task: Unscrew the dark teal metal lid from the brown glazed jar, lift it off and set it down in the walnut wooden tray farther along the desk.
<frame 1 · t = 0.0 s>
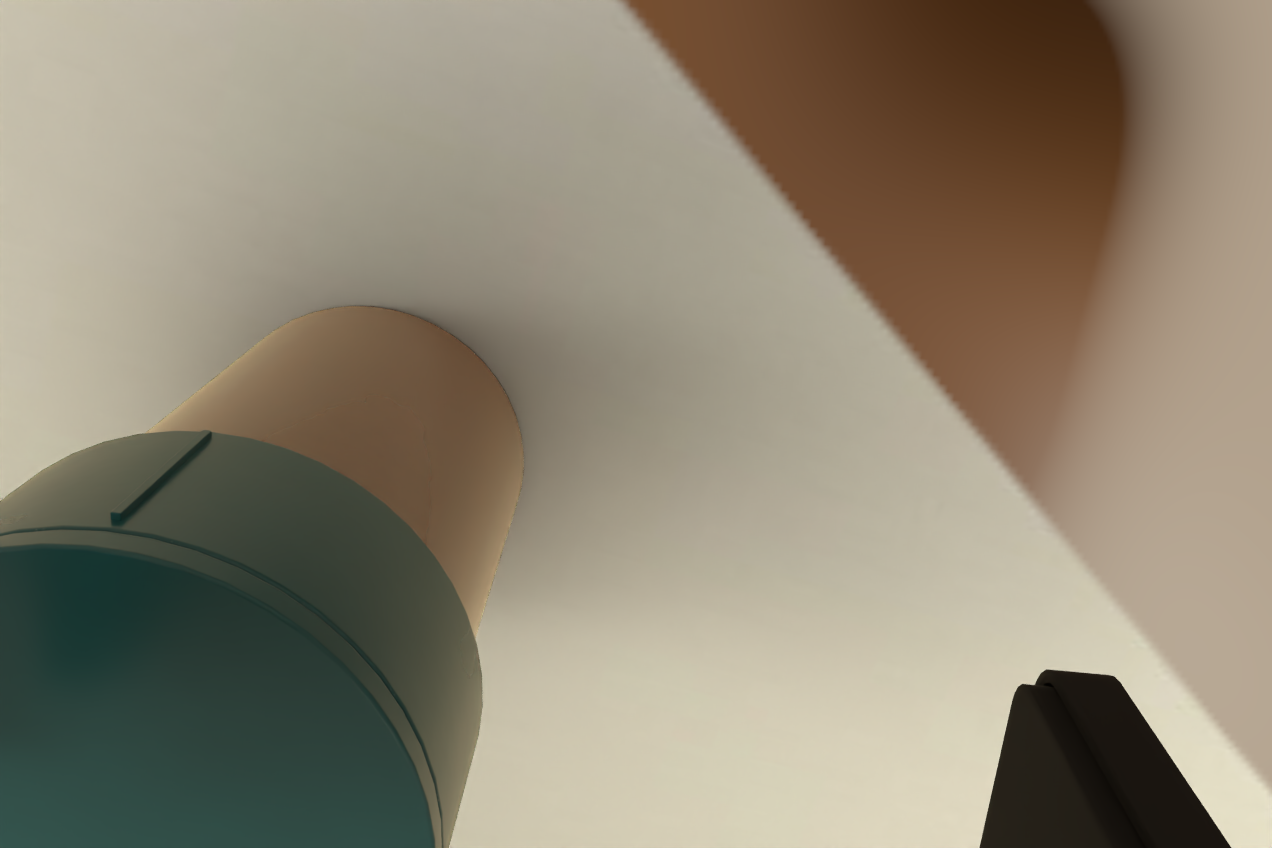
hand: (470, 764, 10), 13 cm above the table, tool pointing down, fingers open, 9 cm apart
jar: (371, 455, 23), on the table
jar lid: (123, 821, 13), point 11 cm above the table, screwed on, not yet turned
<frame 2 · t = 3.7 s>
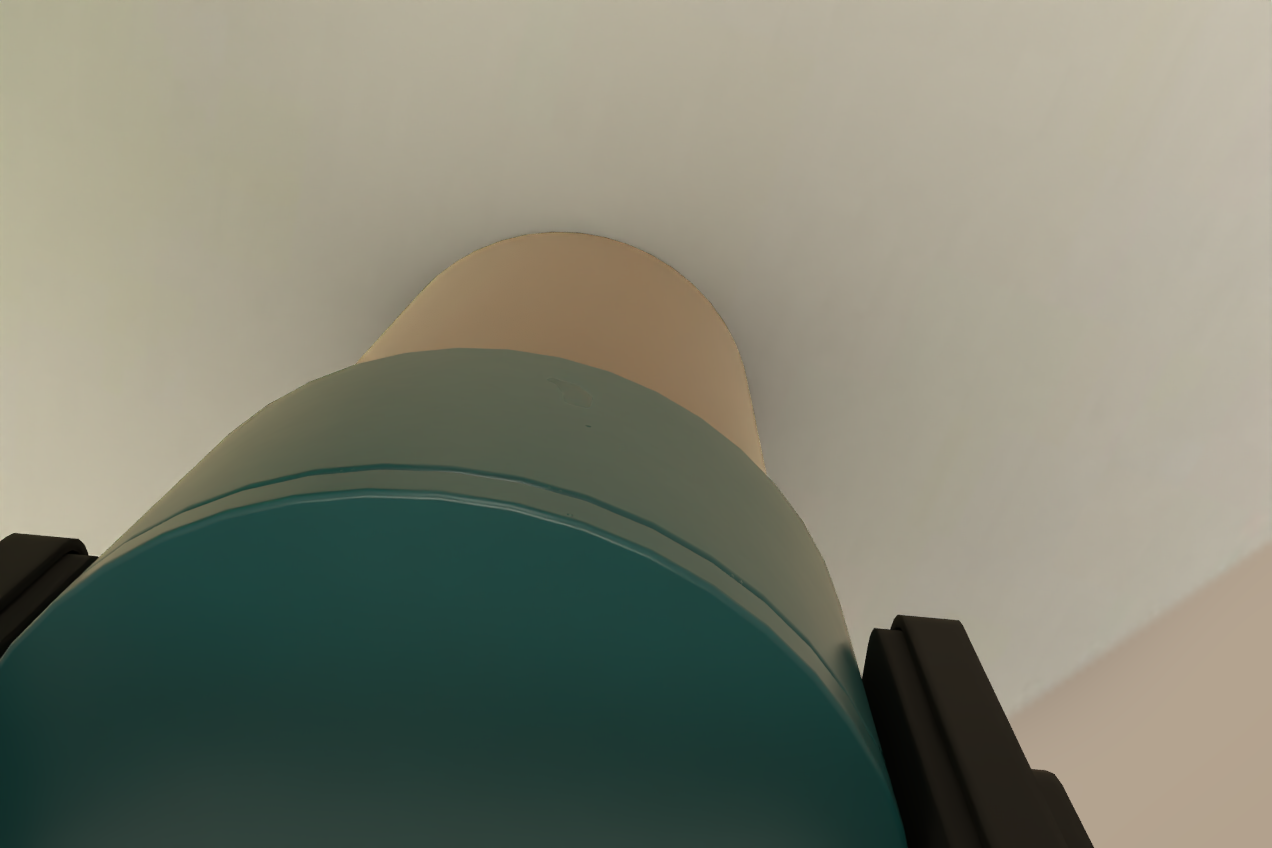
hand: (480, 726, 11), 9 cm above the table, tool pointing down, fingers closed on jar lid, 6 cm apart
jar: (564, 416, 19), on the table
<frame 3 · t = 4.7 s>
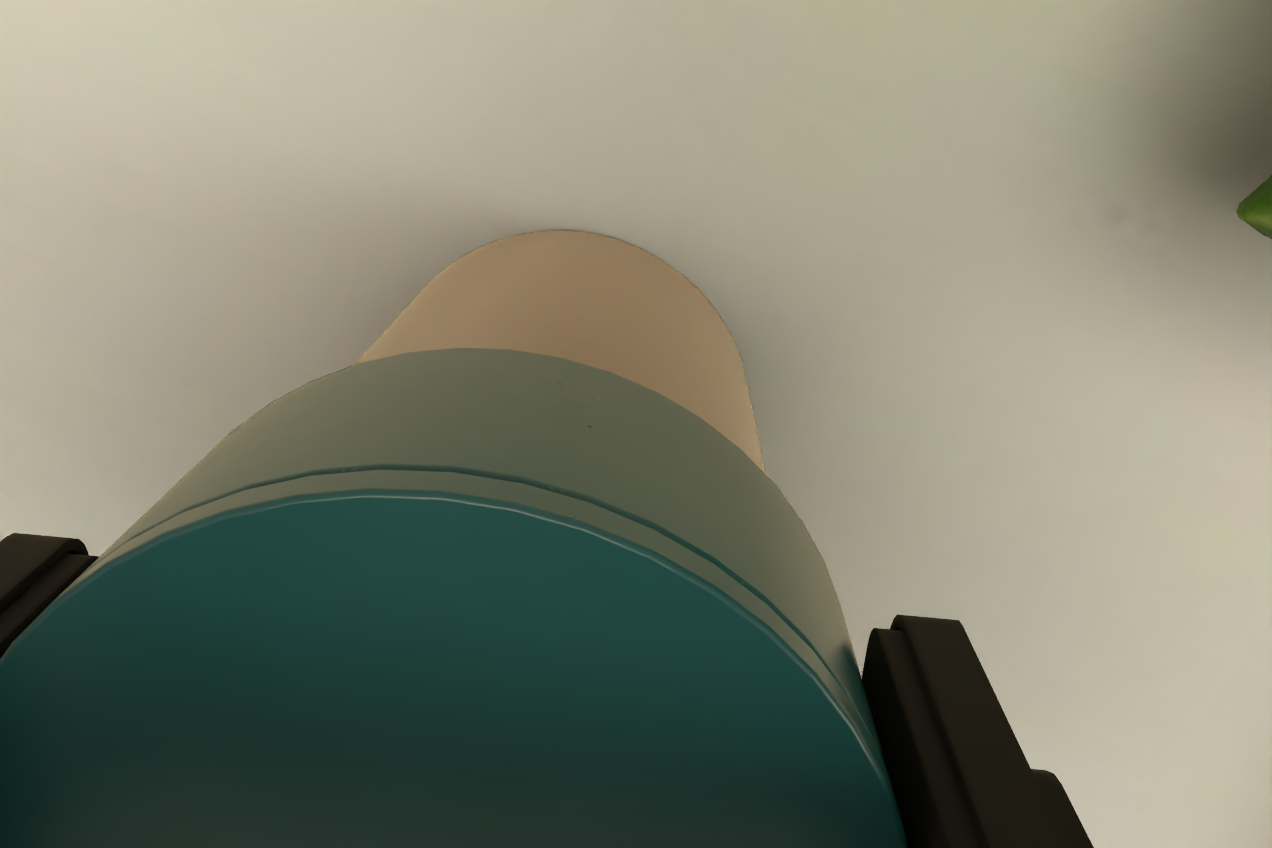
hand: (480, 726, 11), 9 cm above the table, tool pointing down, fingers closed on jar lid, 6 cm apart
jar: (563, 413, 19), on the table
when the fingers open (7 cm above the table, at t = 6.1 s): jar lid stays where it is, point 11 cm above the table.
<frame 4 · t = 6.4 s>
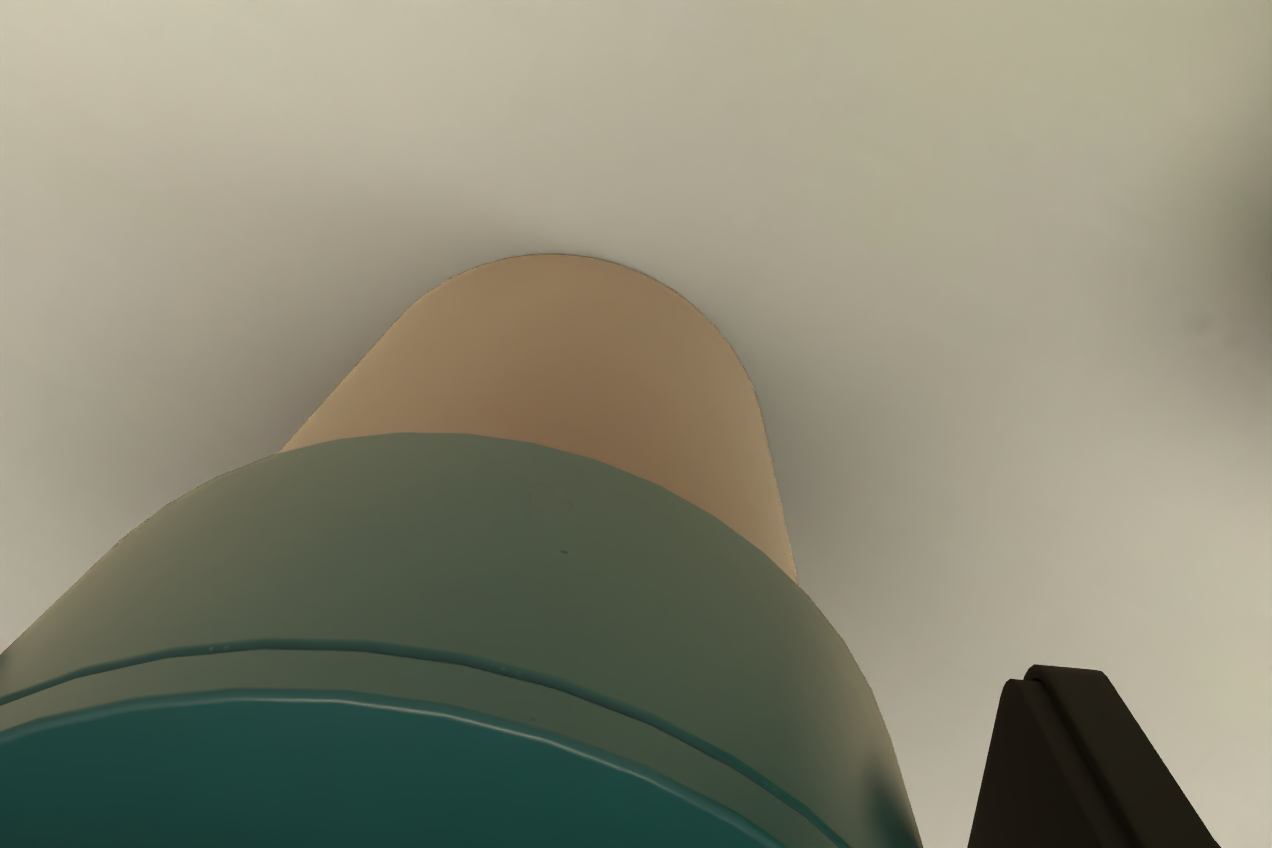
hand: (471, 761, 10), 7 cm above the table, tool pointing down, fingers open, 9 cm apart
jar: (557, 459, 17), on the table
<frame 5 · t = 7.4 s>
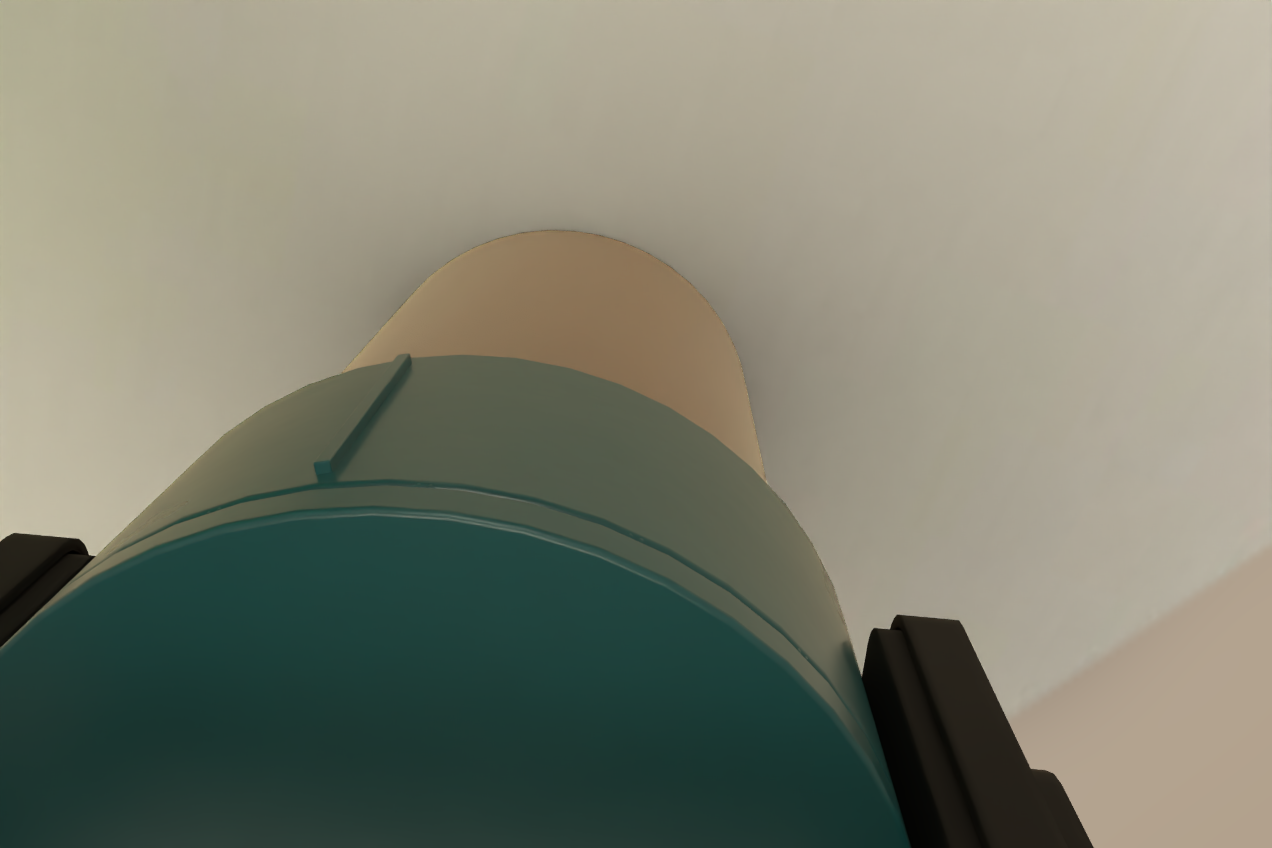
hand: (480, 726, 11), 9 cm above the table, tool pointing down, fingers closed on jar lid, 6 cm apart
jar: (560, 416, 19), on the table
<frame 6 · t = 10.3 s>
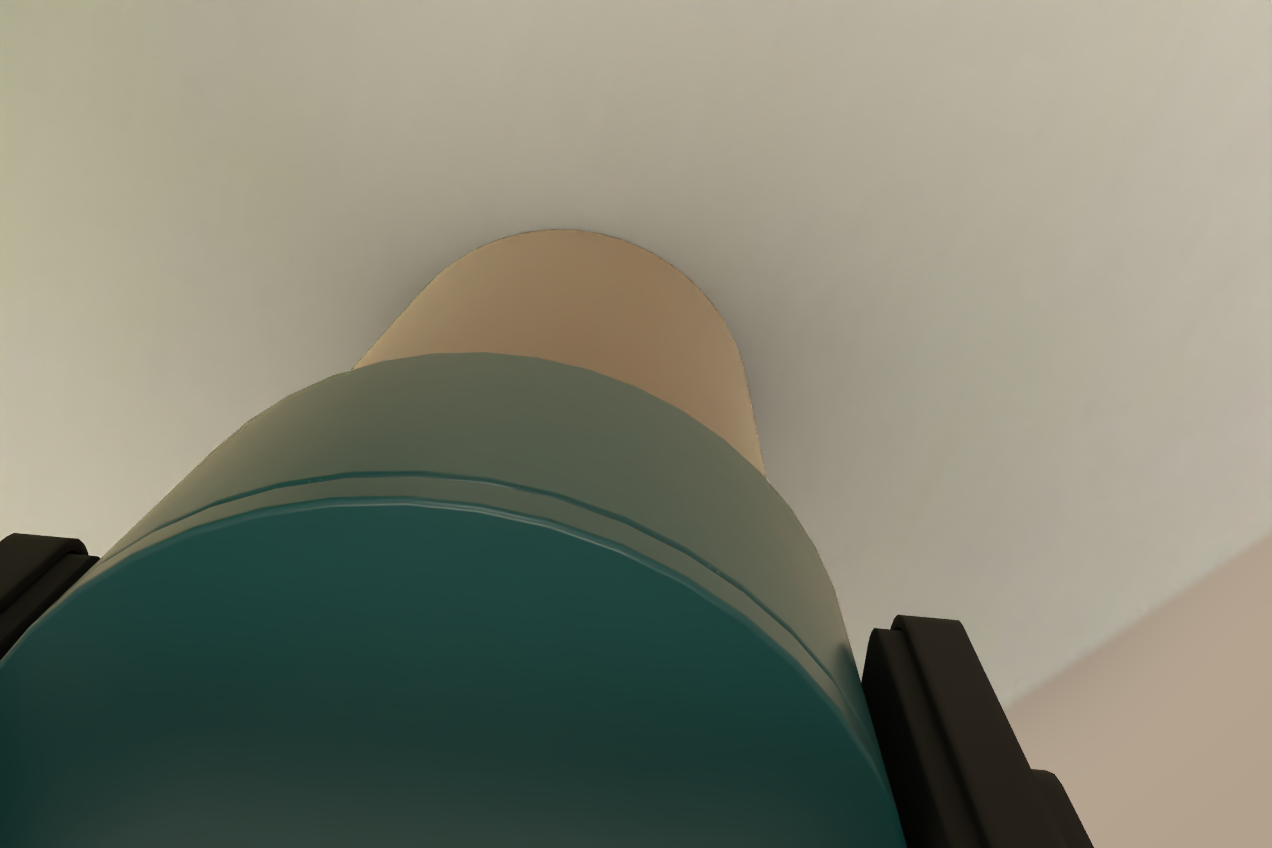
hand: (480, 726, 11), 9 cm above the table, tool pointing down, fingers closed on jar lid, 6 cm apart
jar: (565, 411, 19), on the table
when the fingers open (1 cm above the table, at t = 21.1 s): jar lid stays where it is, resting on tray.
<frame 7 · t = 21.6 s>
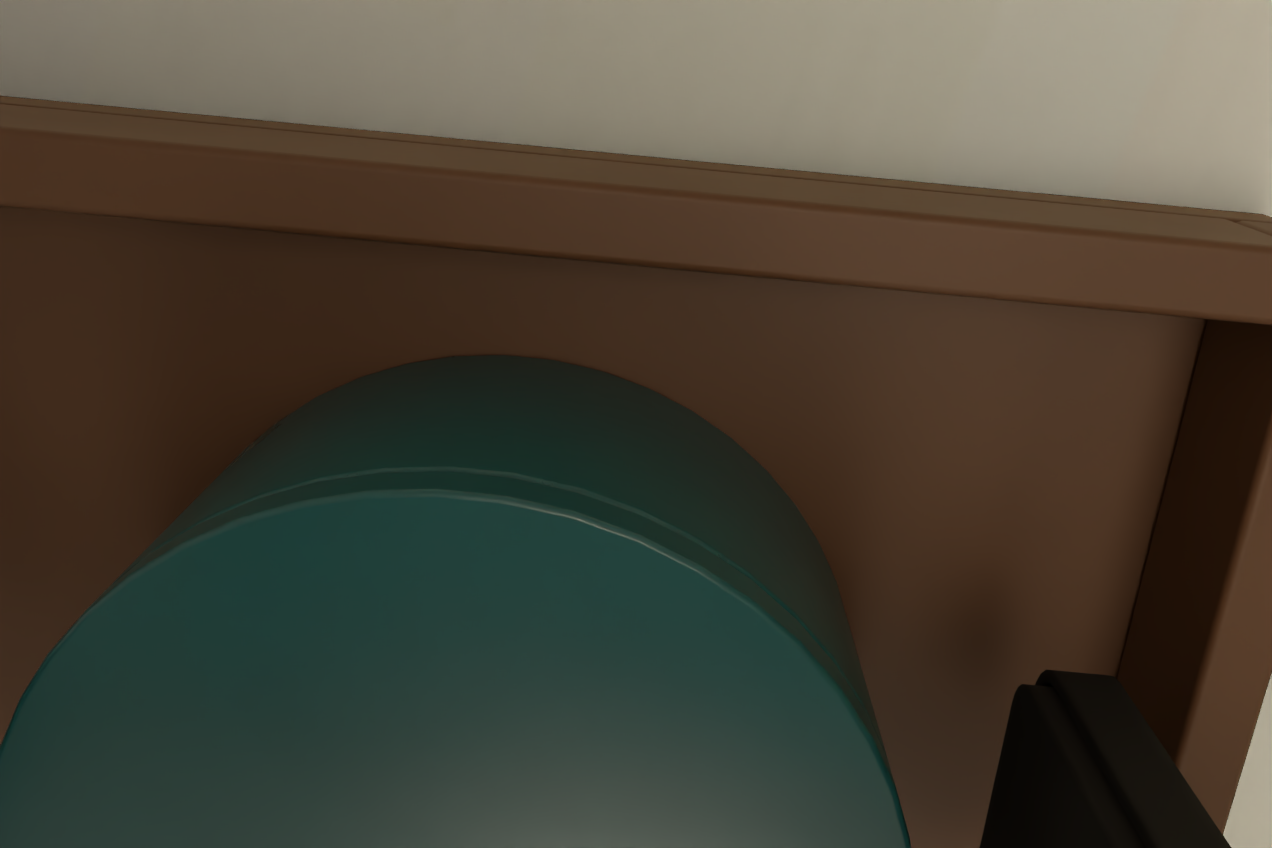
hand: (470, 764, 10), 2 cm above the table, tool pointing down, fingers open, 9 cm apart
tray: (318, 786, 13), on the table
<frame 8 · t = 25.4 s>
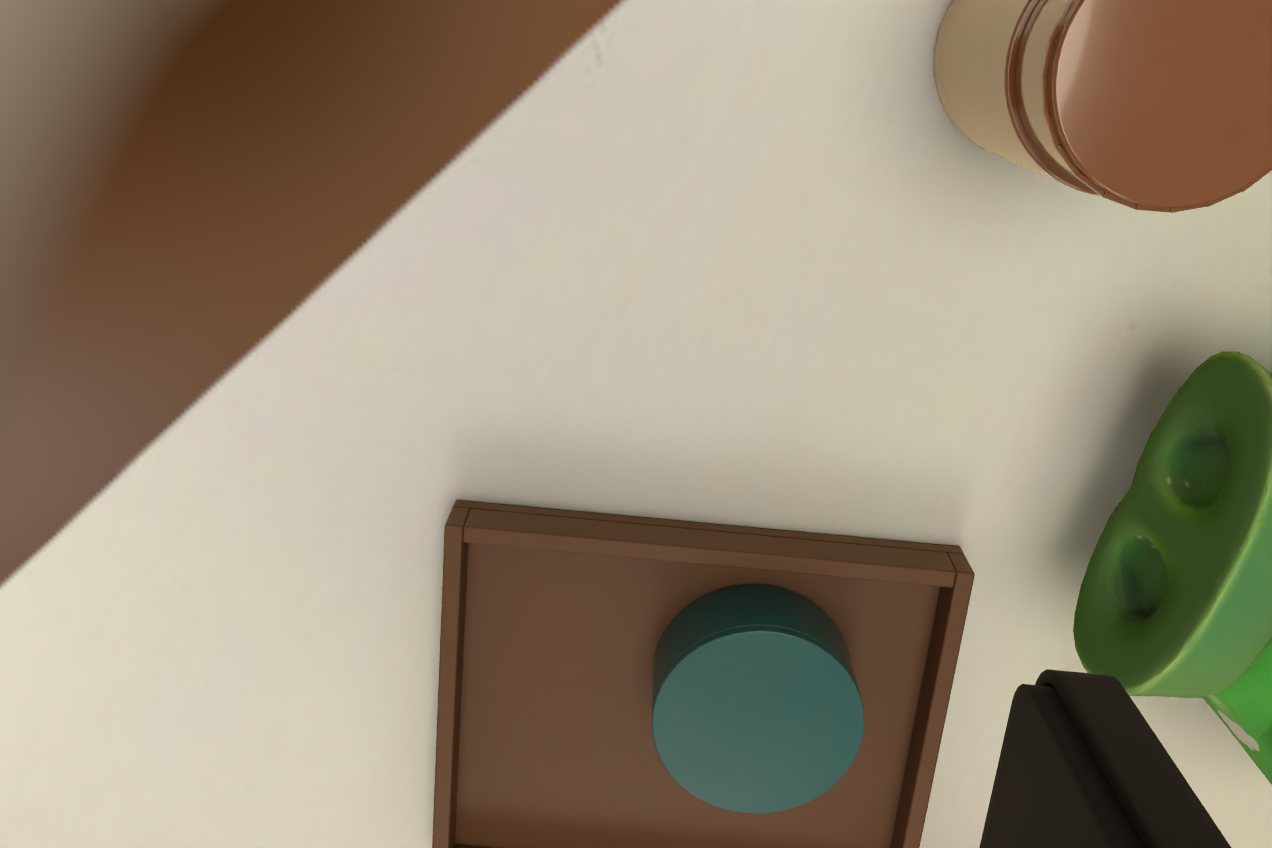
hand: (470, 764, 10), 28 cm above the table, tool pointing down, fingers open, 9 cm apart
jar: (1035, 55, 35), on the table
jar lid: (757, 718, 39), point 3 cm above the table, off its thread, touching tray
tray: (686, 703, 43), on the table
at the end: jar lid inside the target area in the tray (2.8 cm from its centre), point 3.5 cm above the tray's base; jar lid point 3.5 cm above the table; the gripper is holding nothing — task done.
